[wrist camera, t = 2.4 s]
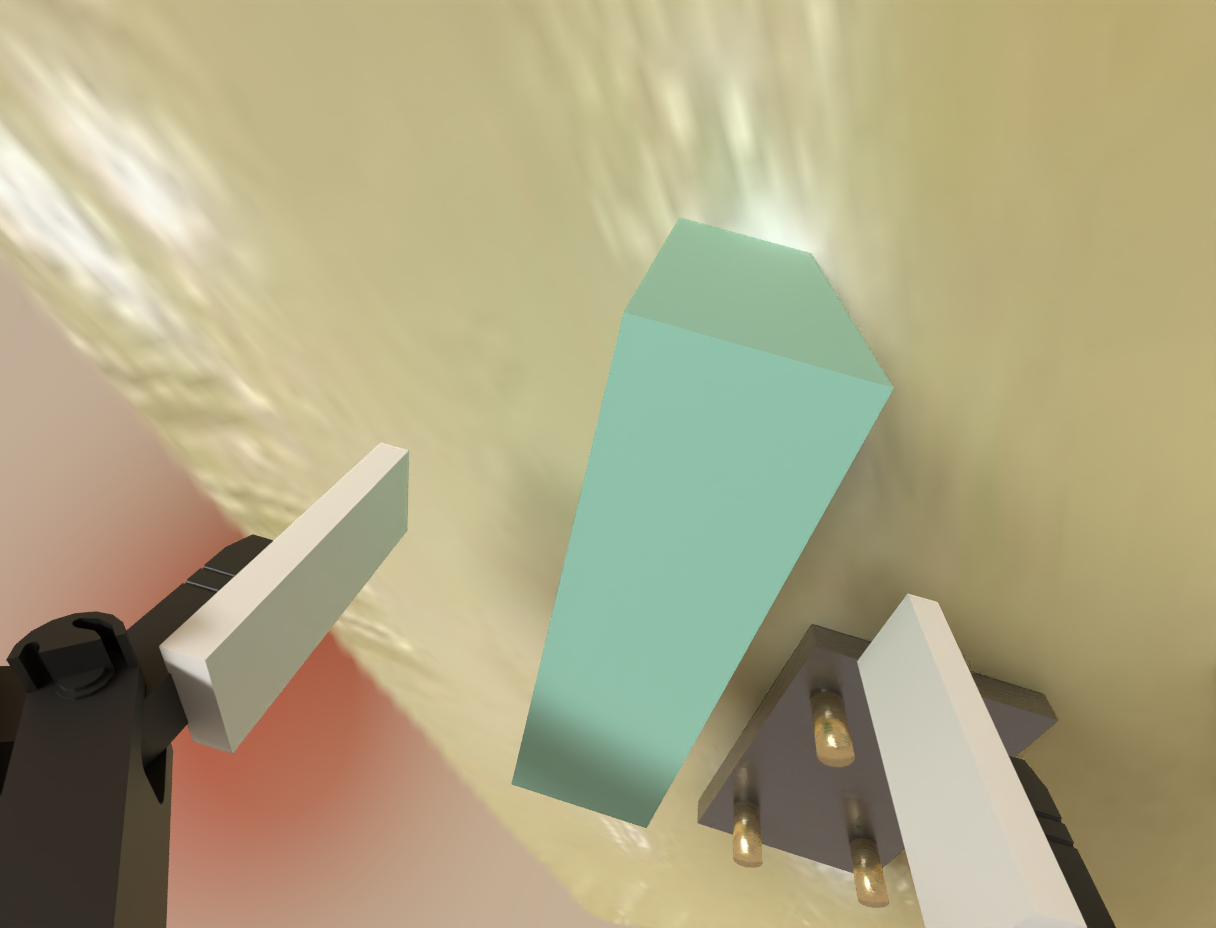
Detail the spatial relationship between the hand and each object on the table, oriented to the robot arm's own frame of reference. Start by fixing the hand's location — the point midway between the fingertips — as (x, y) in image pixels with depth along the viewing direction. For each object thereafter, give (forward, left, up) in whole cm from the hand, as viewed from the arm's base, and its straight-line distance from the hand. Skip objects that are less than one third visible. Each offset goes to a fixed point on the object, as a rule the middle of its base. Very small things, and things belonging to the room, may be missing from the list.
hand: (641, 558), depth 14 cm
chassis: (-13, +15, -7) cm, 21 cm away
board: (0, 0, -7) cm, 7 cm away
